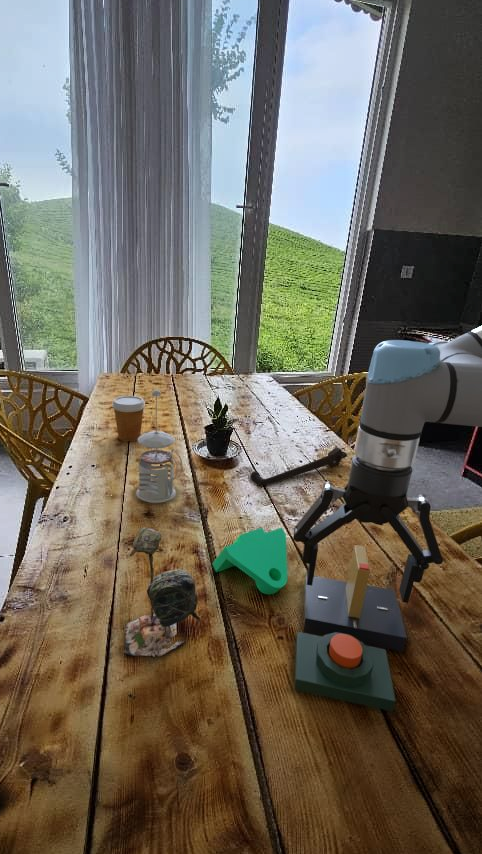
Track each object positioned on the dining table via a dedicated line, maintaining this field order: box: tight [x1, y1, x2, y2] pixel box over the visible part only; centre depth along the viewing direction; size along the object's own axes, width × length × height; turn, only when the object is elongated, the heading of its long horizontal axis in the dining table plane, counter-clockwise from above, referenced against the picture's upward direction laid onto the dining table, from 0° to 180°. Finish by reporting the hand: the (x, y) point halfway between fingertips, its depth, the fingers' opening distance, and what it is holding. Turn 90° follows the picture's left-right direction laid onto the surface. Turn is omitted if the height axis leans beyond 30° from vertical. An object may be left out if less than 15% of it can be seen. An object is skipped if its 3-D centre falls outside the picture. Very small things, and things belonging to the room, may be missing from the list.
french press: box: [135, 389, 183, 504], centre depth 97 cm, size 10×12×25 cm
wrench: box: [250, 446, 348, 486], centre depth 116 cm, size 5×5×30 cm
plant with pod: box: [123, 526, 202, 658], centre depth 60 cm, size 8×11×20 cm
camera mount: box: [211, 527, 288, 595], centre depth 76 cm, size 12×8×10 cm
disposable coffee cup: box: [111, 395, 146, 442], centre depth 131 cm, size 10×10×12 cm
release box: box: [293, 631, 397, 712], centre depth 59 cm, size 12×8×4 cm, turn 77°
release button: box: [329, 634, 363, 668], centre depth 58 cm, size 4×4×2 cm
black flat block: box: [302, 574, 408, 653], centre depth 68 cm, size 14×10×3 cm
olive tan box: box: [346, 544, 371, 618], centre depth 66 cm, size 6×2×9 cm, turn 167°
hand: (355, 588), depth 67 cm, fingers open, 13 cm apart
